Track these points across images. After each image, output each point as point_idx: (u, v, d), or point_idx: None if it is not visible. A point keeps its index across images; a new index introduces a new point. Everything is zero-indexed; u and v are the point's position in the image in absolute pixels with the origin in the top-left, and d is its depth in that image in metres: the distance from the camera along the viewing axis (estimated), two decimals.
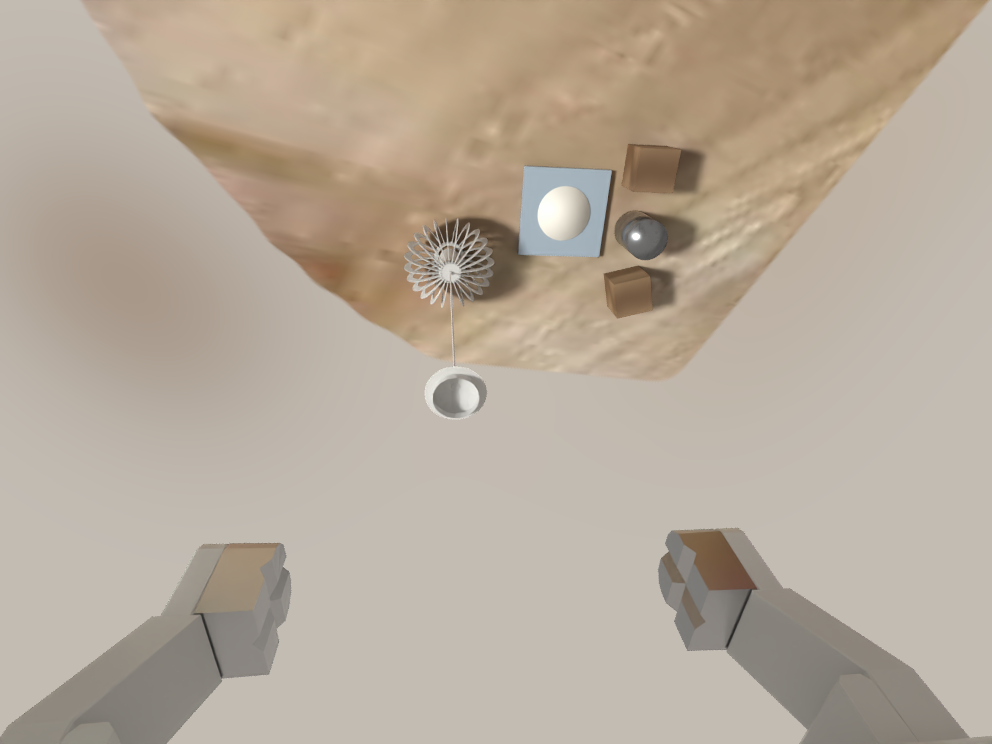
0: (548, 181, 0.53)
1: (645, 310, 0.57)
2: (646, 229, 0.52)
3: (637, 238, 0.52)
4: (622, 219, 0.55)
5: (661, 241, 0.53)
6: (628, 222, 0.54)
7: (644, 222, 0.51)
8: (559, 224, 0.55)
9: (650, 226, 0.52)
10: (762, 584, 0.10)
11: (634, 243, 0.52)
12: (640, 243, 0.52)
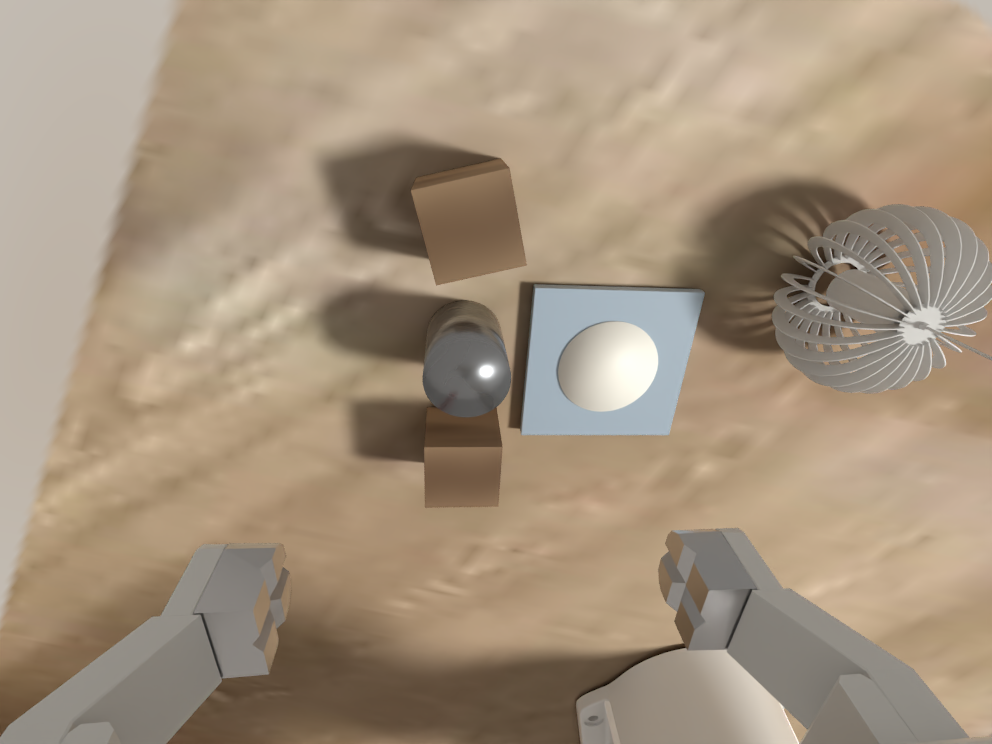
0: (632, 415, 0.30)
1: (431, 190, 0.21)
2: (475, 401, 0.24)
3: (492, 384, 0.24)
4: None
5: (436, 378, 0.23)
6: None
7: (482, 413, 0.24)
8: (617, 349, 0.28)
9: (467, 406, 0.24)
10: (762, 584, 0.10)
11: (498, 374, 0.23)
12: (484, 374, 0.23)
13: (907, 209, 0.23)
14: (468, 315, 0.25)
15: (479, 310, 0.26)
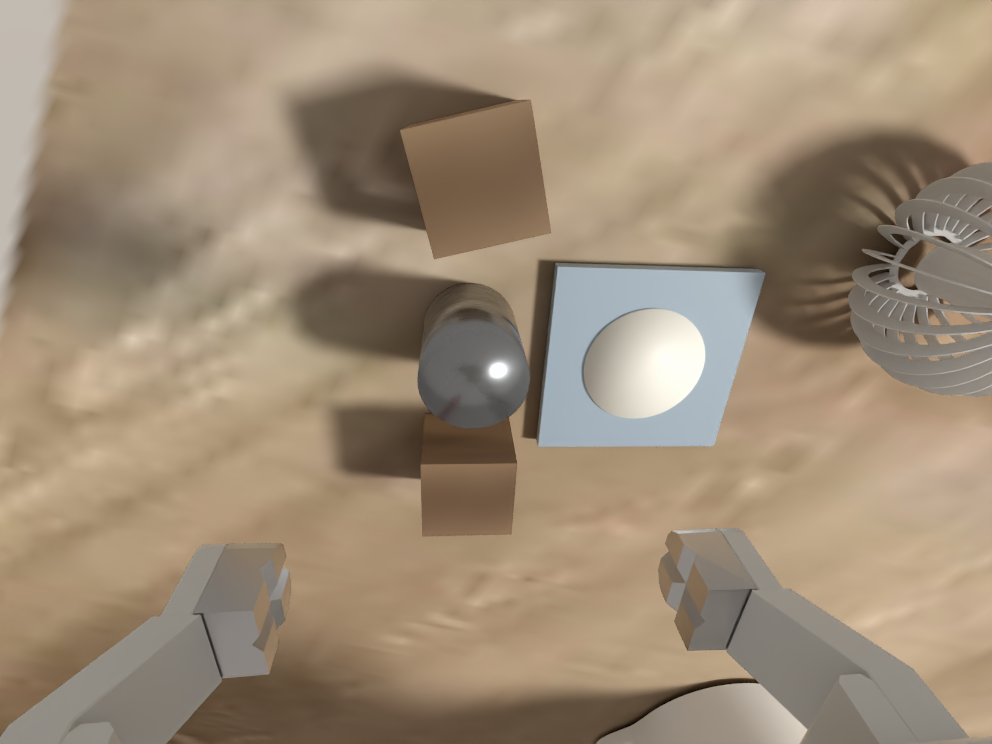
0: (672, 423, 0.25)
1: (427, 130, 0.15)
2: (484, 408, 0.19)
3: (506, 386, 0.19)
4: None
5: (434, 380, 0.18)
6: None
7: (493, 423, 0.19)
8: (656, 343, 0.23)
9: (474, 415, 0.19)
10: (762, 584, 0.10)
11: (513, 373, 0.18)
12: (496, 374, 0.18)
13: None
14: (475, 300, 0.20)
15: (488, 294, 0.21)
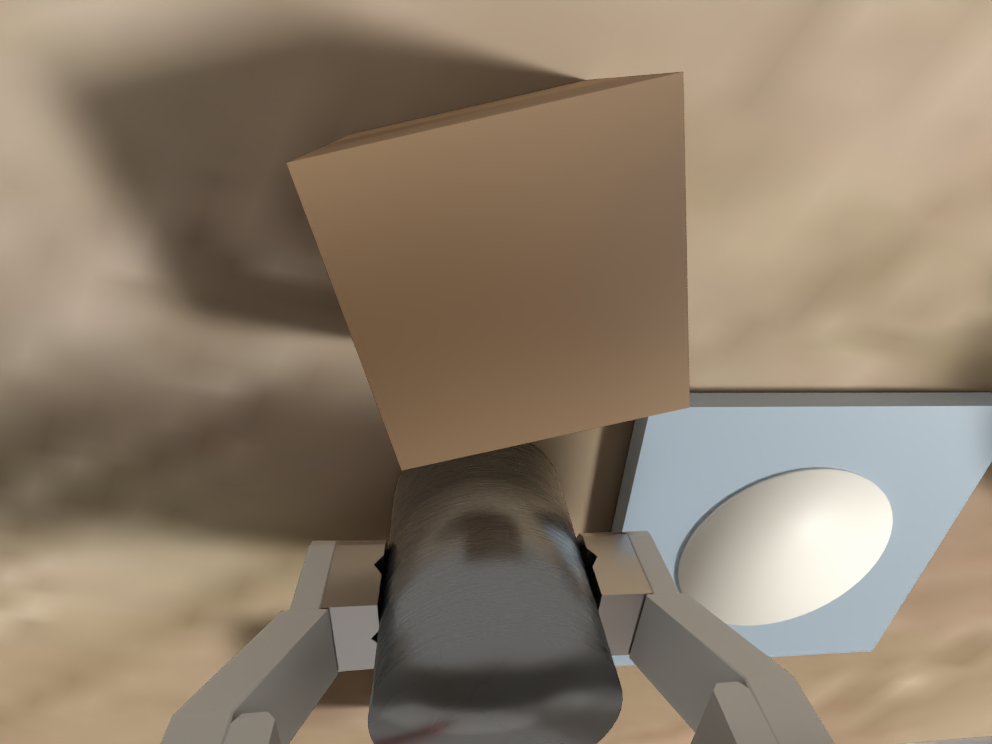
0: (813, 626, 0.15)
1: (370, 163, 0.05)
2: None
3: (569, 719, 0.08)
4: None
5: (407, 721, 0.08)
6: None
7: None
8: (809, 519, 0.13)
9: None
10: (658, 589, 0.09)
11: (587, 700, 0.08)
12: (547, 703, 0.08)
13: None
14: (492, 495, 0.10)
15: (517, 465, 0.11)
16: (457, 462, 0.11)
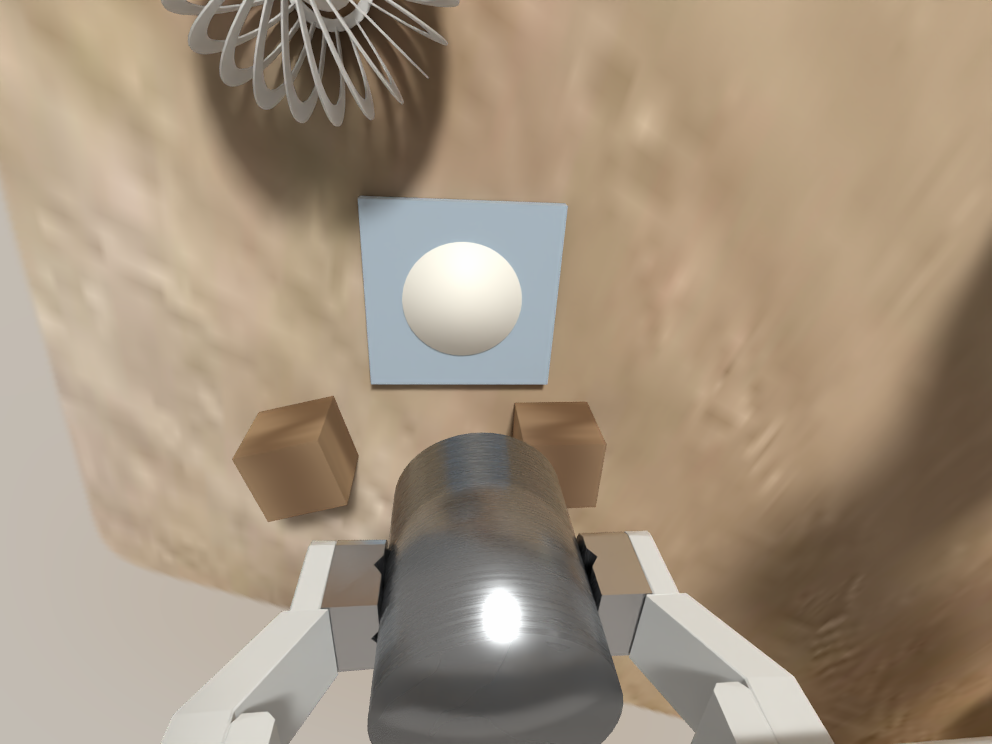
0: (532, 261, 0.24)
1: (264, 509, 0.25)
2: None
3: (570, 723, 0.08)
4: None
5: (407, 725, 0.08)
6: None
7: None
8: (438, 293, 0.24)
9: None
10: (658, 589, 0.09)
11: (587, 703, 0.08)
12: (548, 707, 0.08)
13: None
14: (493, 497, 0.10)
15: (517, 467, 0.11)
16: (457, 464, 0.11)
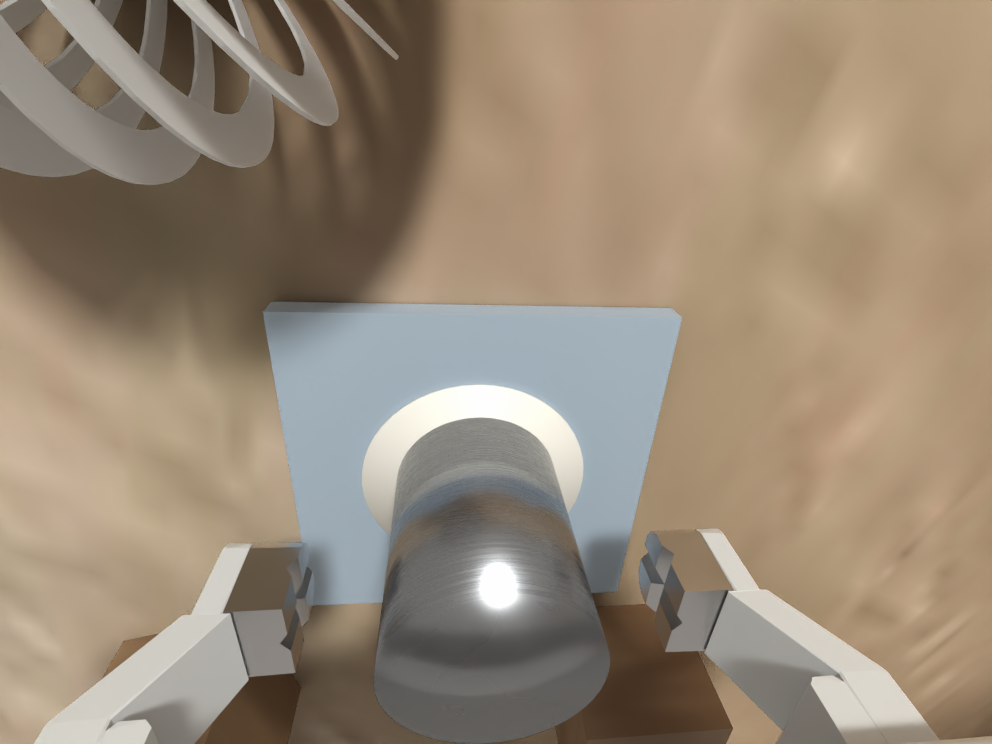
0: (605, 412, 0.13)
1: None
2: (513, 714, 0.09)
3: (561, 681, 0.09)
4: None
5: (410, 681, 0.09)
6: None
7: (531, 733, 0.10)
8: None
9: (493, 725, 0.09)
10: (738, 585, 0.10)
11: (577, 662, 0.09)
12: (540, 665, 0.09)
13: None
14: (490, 475, 0.10)
15: (513, 448, 0.11)
16: (456, 446, 0.11)
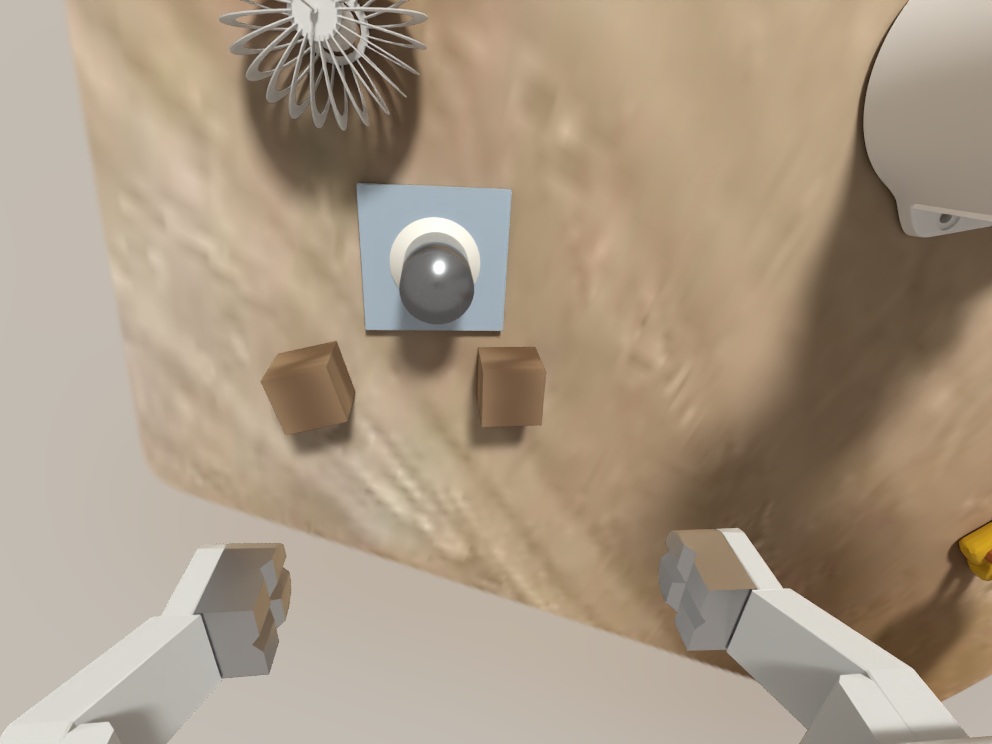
0: (486, 232, 0.32)
1: (283, 424, 0.32)
2: (444, 309, 0.28)
3: (458, 293, 0.28)
4: None
5: (410, 288, 0.28)
6: None
7: (451, 321, 0.29)
8: None
9: (438, 314, 0.28)
10: (762, 584, 0.10)
11: (463, 284, 0.28)
12: (451, 284, 0.28)
13: (227, 21, 0.24)
14: (437, 240, 0.29)
15: (448, 238, 0.30)
16: (426, 236, 0.30)
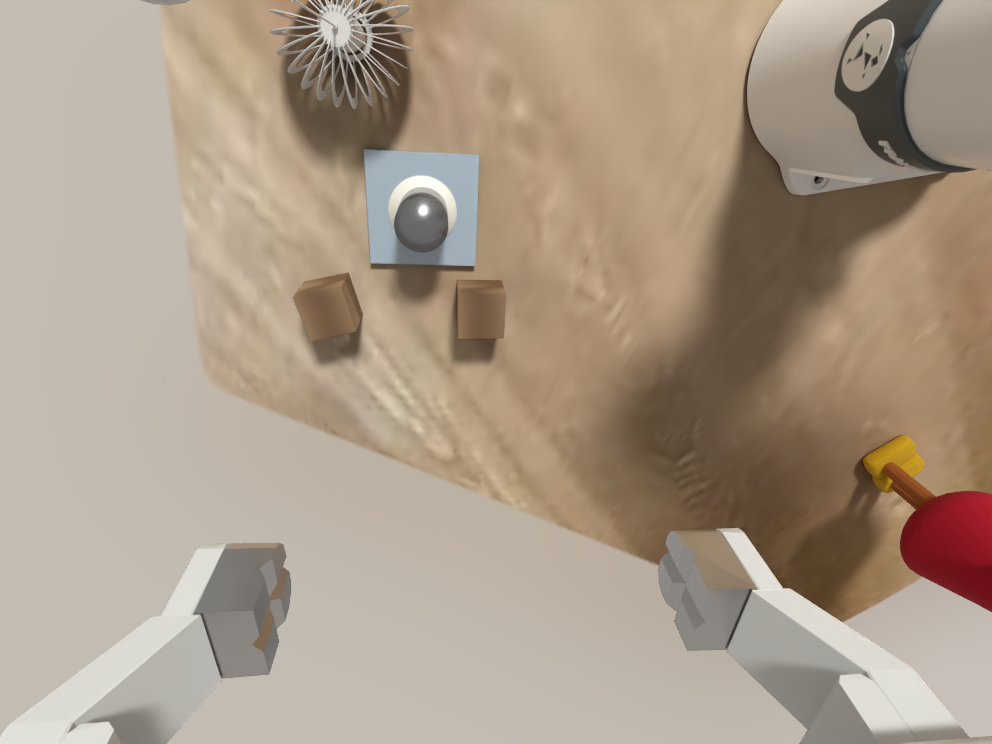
0: (461, 187, 0.42)
1: (309, 332, 0.43)
2: (427, 241, 0.39)
3: (437, 228, 0.39)
4: None
5: (402, 224, 0.38)
6: None
7: (432, 250, 0.39)
8: None
9: (422, 244, 0.39)
10: (762, 584, 0.10)
11: (440, 222, 0.38)
12: (431, 222, 0.38)
13: (274, 32, 0.34)
14: (423, 191, 0.40)
15: (431, 191, 0.41)
16: (415, 189, 0.41)
